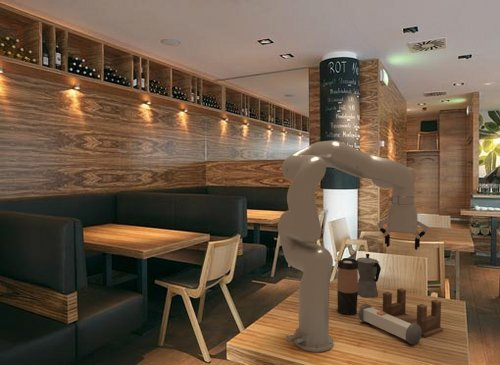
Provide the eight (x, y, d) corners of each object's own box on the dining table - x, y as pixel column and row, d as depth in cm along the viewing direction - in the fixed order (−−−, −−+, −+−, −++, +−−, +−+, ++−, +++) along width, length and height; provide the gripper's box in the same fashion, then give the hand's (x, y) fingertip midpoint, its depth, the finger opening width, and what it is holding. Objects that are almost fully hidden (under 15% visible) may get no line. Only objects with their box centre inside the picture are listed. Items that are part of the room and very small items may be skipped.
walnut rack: (443, 330, 129) (443, 302, 129) (424, 337, 124) (425, 308, 123) (398, 313, 144) (399, 287, 144) (380, 318, 139) (380, 292, 139)
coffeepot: (349, 290, 171) (350, 251, 170) (367, 288, 173) (367, 249, 172) (369, 302, 156) (370, 259, 155) (388, 299, 159) (389, 257, 158)
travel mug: (358, 316, 141) (359, 263, 140) (337, 314, 143) (338, 262, 142) (356, 308, 149) (357, 258, 148) (336, 307, 150) (337, 257, 149)
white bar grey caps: (421, 342, 121) (421, 322, 120) (408, 347, 117) (409, 327, 117) (370, 319, 139) (370, 302, 138) (358, 323, 135) (358, 305, 135)
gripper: (376, 200, 137) (375, 247, 138) (428, 203, 129) (427, 252, 130) (379, 199, 144) (379, 243, 145) (429, 201, 136) (428, 248, 137)
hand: (401, 247), depth 137 cm, fingers open, 9 cm apart
